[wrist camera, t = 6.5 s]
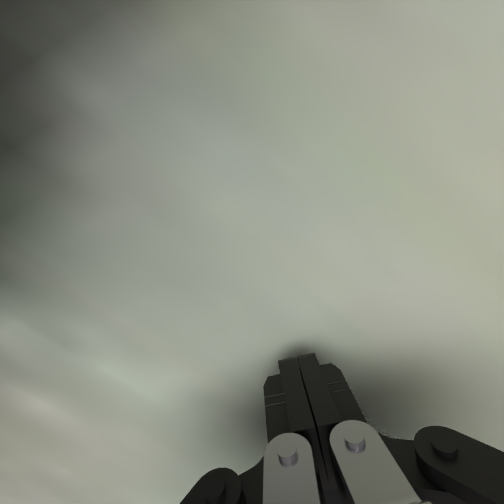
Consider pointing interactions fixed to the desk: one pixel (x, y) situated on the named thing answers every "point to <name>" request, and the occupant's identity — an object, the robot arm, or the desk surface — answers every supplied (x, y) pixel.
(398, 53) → the desk surface
